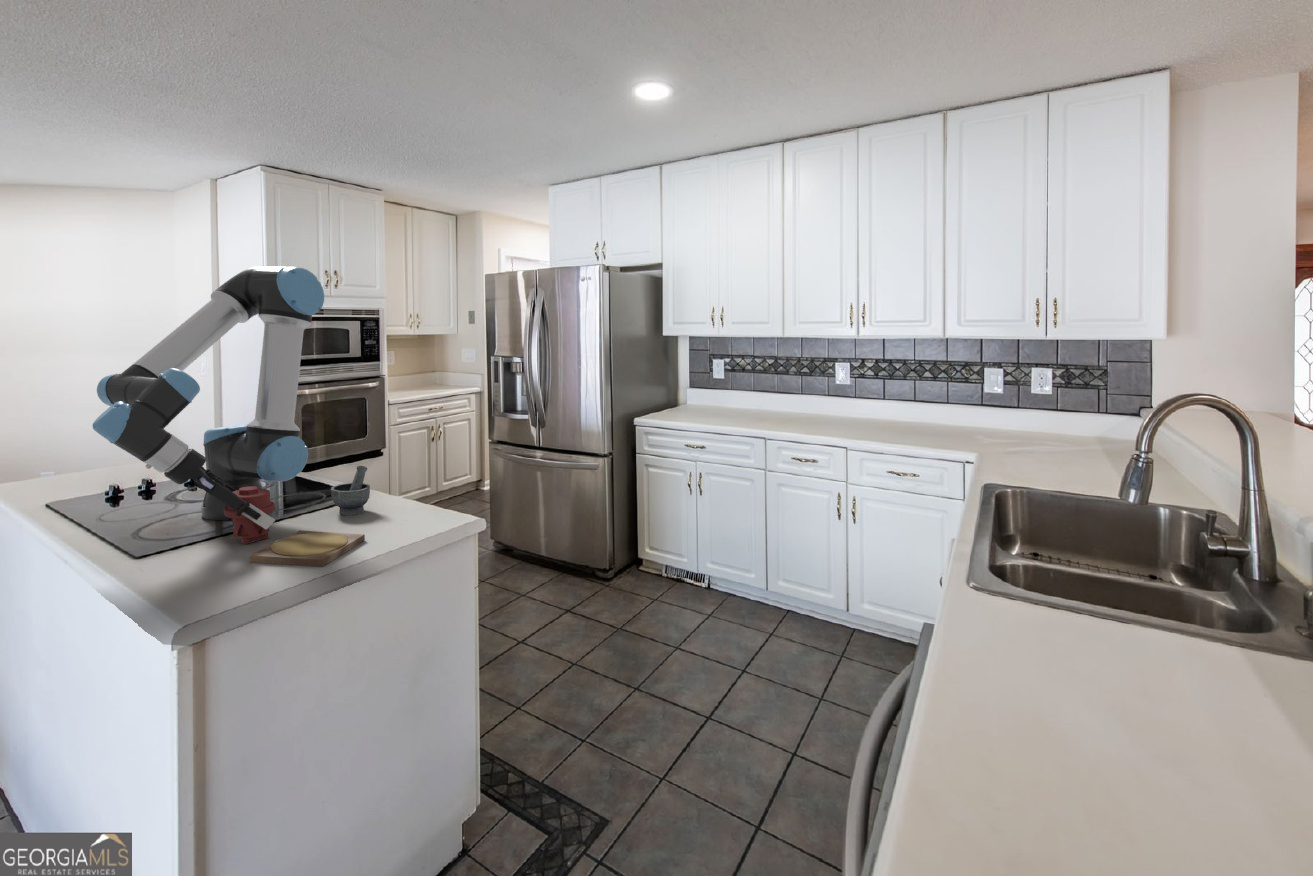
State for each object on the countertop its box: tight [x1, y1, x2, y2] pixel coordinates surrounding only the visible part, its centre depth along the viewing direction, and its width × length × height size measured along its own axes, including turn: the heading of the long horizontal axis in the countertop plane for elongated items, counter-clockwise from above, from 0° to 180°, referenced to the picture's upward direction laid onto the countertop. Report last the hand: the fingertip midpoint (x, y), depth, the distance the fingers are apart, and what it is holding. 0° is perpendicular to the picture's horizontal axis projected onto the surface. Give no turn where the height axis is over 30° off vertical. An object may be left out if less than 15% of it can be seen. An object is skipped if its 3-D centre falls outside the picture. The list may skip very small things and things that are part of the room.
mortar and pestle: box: [330, 465, 371, 516], centre depth 172 cm, size 11×9×12 cm
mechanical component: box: [224, 486, 276, 545], centre depth 147 cm, size 12×10×10 cm
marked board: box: [249, 530, 366, 567], centre depth 142 cm, size 17×16×2 cm
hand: (265, 518), depth 149 cm, fingers closed on mechanical component, 10 cm apart
